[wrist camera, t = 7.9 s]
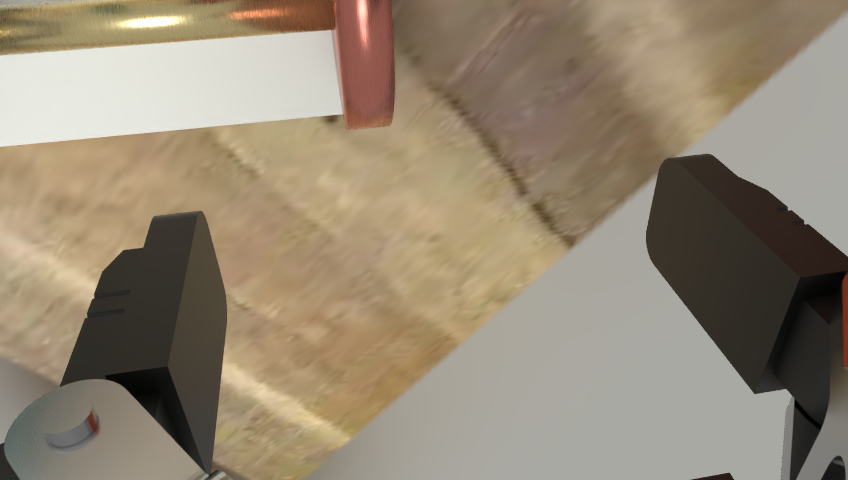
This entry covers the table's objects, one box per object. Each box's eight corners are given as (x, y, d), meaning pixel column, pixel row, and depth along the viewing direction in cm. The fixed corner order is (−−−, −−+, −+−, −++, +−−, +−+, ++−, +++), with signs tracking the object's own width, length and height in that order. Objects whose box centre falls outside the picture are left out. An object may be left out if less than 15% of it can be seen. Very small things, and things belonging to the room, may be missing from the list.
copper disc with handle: (354, -148, 28) (385, -121, 20) (370, 76, 34) (399, 167, 26) (-101, -129, 25) (-277, -90, 17) (0, 109, 31) (-97, 221, 23)
